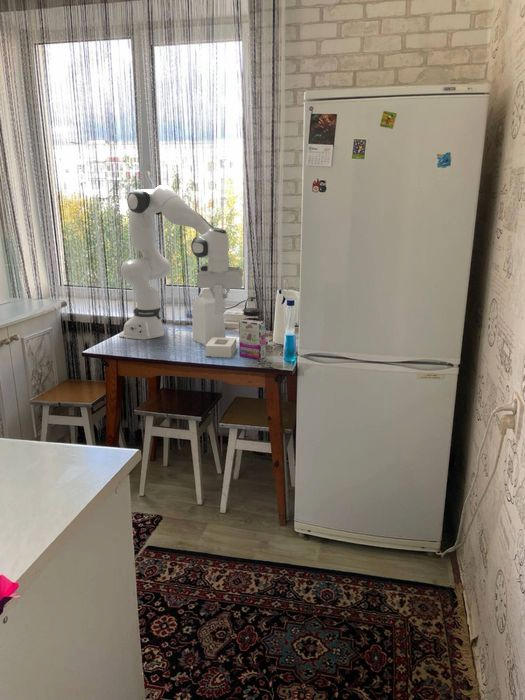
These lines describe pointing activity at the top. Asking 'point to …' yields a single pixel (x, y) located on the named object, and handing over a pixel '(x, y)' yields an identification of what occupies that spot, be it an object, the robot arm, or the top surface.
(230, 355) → the slotted post base
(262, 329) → the candy bar box
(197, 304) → the milk
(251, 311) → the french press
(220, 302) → the block
